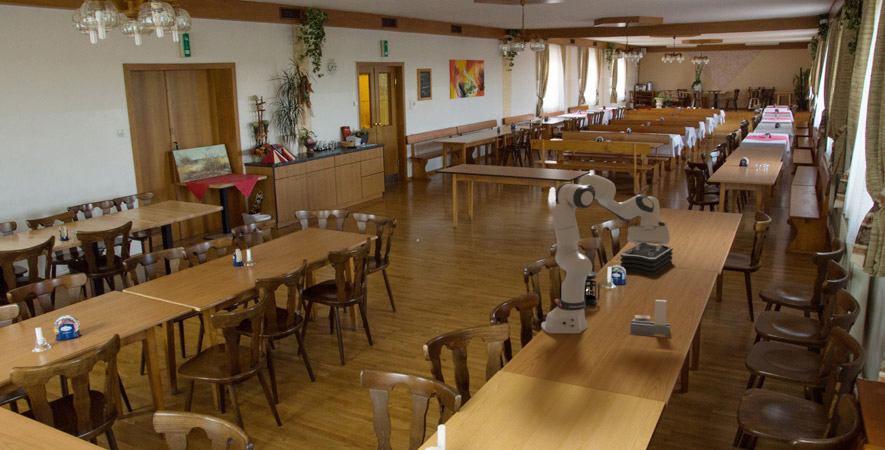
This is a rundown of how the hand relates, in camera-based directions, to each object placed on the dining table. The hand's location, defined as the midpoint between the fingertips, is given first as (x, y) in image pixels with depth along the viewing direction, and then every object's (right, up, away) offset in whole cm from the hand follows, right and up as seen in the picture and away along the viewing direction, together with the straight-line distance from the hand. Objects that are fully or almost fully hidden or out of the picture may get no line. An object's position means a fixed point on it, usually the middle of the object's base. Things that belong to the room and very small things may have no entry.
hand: (647, 249), depth 329 cm
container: (+31, -15, +102) cm, 108 cm away
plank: (+3, -39, -9) cm, 40 cm away
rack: (-1, -40, -6) cm, 40 cm away
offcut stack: (-3, -38, -1) cm, 38 cm away
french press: (-21, -31, +37) cm, 53 cm away
